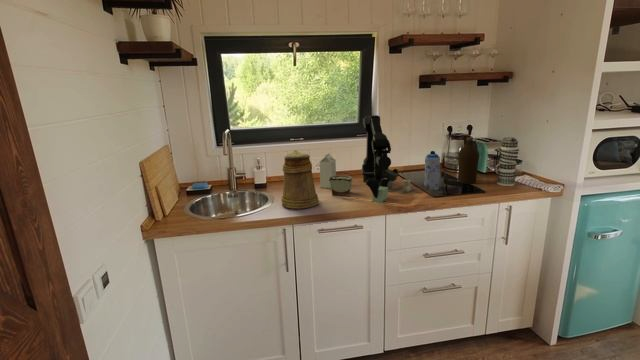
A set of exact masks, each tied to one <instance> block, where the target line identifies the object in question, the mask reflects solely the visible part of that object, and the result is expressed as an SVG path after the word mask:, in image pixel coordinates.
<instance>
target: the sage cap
mask: <svg viewBox="0 0 640 360" xmlns="http://www.w3.org/2000/svg"><path fill="white" fill-rule="evenodd" d="M371 193H372V192H371ZM371 196H372V202H373V203H376V204H377V203H378V204H385V203H386V202H387V201H386V199H388V198H389V192H388V187H381V186H380V187H379V190H378V197H377V198H375V197H374V195H373V193H372V195H371Z"/></svg>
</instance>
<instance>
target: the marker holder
mask: <svg viewBox="0 0 640 360" xmlns="http://www.w3.org/2000/svg"><path fill="white" fill-rule="evenodd" d="M420 190H421V189H420V188H416V187H415V188H413V187H411V180H410V179H404V180H402V186H396V185H392V188H390V189H389V190H388V193H392V194H399V195H406V196H407V195H408V196H413V195H415V194H416V193H417V192H418V191H420Z"/></svg>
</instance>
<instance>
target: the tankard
mask: <svg viewBox="0 0 640 360" xmlns="http://www.w3.org/2000/svg"><path fill="white" fill-rule="evenodd" d="M310 157H311V156H310V155H309V153H302V152H298V150H297V149H294V150H293V152H291V153H288V154H285V156H284V164H282V172H283V185H282V187H283V188H282V196H281V205H282V207H285V208H287V209H295V210H296V209H308V208H312V207H315V206H317V205H318V204H319V202H320V200H319V197H318V193H316V187H315V186H316V185H315V181H314V176H313V171H312V169H313V164H312V162H311V159H310Z"/></svg>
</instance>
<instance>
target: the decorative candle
mask: <svg viewBox="0 0 640 360" xmlns="http://www.w3.org/2000/svg"><path fill="white" fill-rule="evenodd" d="M500 142H501V146H500V148H498V150H499V152H498V157H499V158H498V163H499V167H498V170H497V172H498V173H497V175H498V176H497V180H496V181H497V182H496V184H497V185H499V186H503V187H513V186H515V184H516V181H515V180H516V178H515V177H516V174H517V172H516V166H517V165H516V164H517V163H518V162H517V161H518V157H519V156H518V155H519V151H520V149H518V143H519V140H517V138H516V137H511V136H510V137H504V138H503V139H502V140H500Z"/></svg>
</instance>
